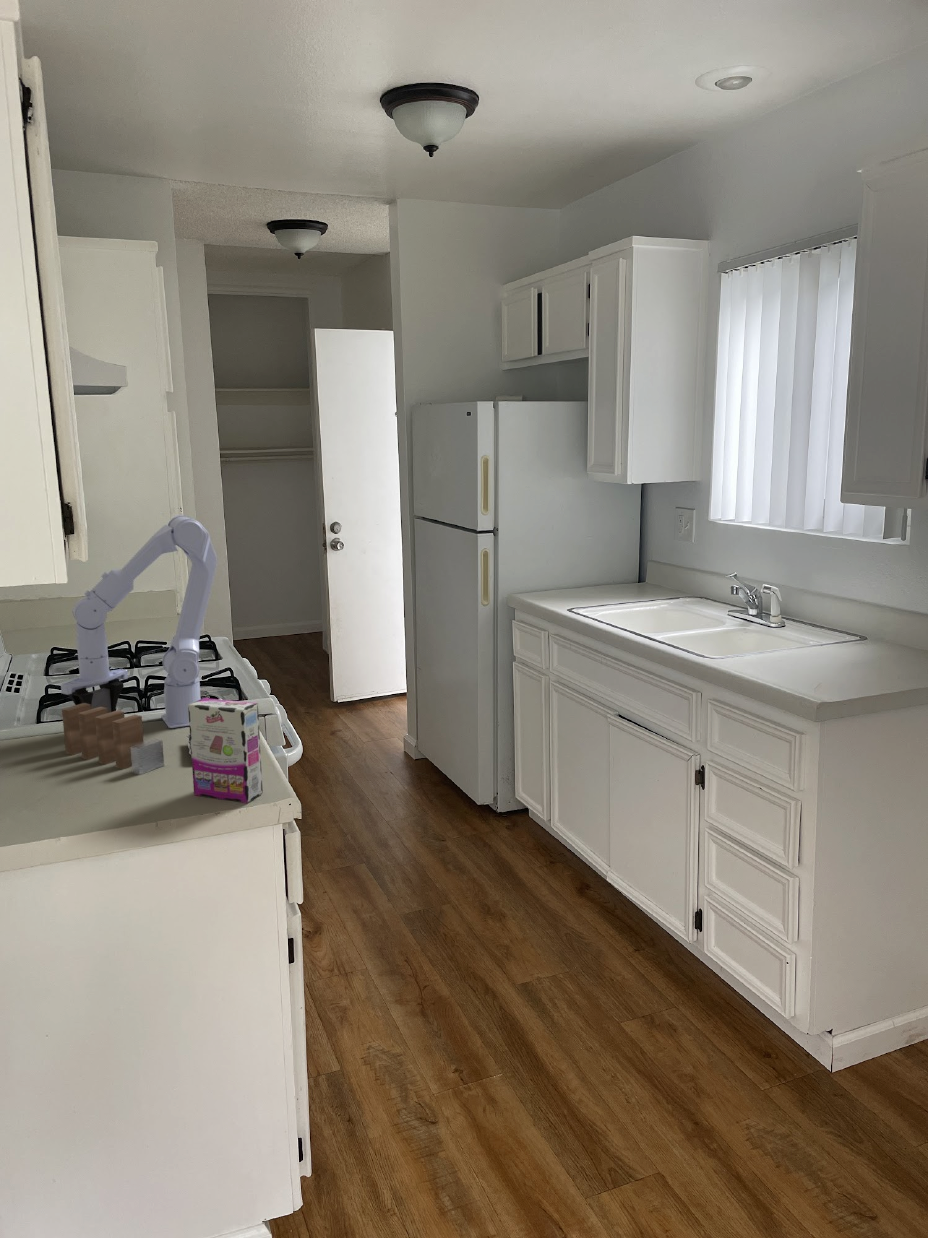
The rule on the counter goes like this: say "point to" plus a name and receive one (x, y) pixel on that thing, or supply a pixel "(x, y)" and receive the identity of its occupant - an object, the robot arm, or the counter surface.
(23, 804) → the counter surface
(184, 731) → the counter surface
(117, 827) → the counter surface
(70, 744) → the domino
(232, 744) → the candy bar box
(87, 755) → the domino
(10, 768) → the counter surface
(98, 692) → the domino
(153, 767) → the block
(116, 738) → the domino
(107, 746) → the domino
